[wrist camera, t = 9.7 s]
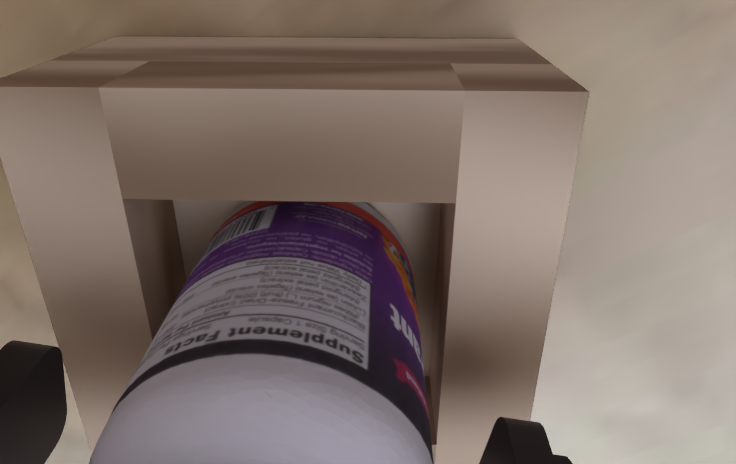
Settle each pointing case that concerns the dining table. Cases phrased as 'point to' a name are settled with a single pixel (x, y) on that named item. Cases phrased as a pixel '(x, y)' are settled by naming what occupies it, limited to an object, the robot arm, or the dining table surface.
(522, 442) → the robot arm
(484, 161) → the maple riser
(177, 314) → the pill bottle
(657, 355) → the dining table surface
